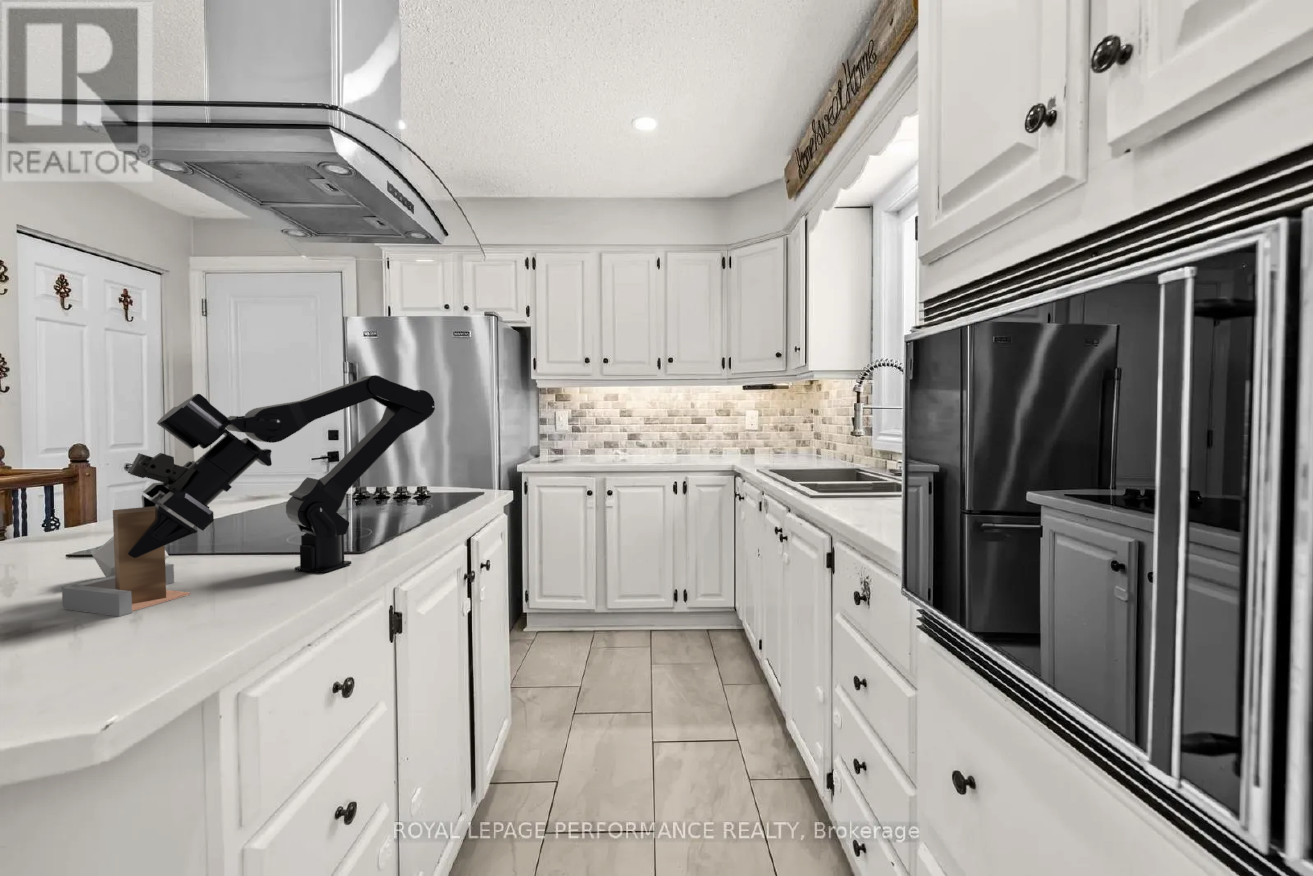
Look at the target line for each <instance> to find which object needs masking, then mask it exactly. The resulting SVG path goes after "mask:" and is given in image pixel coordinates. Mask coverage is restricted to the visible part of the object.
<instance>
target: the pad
mask: <svg viewBox="0 0 1313 876" xmlns="http://www.w3.org/2000/svg"><path fill="white" fill-rule="evenodd" d="M185 596H190V592H189V591H178V590H171V589H166V598H163V599H157V600H152V601H146V602H140V603H135V604H132V612H134V611H137V610H141V609H144V608H148V607H152V606H154V605H158V604H163V603H165V602H169V601H172V600H175V599H179V598H182V597H185Z"/></svg>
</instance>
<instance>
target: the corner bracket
mask: <svg viewBox="0 0 1313 876" xmlns="http://www.w3.org/2000/svg"><path fill="white" fill-rule="evenodd" d="M174 567H175V565H174V564H173V563H165V571H166V586H167V585H170V584H174V583H175V570H174V569H175V568H174ZM61 596H62V597H61V598H62V599H61V600H62V603H61V604H62V610H67V611H74V612H75V611H76V612H85V613H91V614H100V615H107V616H115V617H122V616H123V617H124V616H126V615H129V614H132V613H133V611H132V596H131V591H125V590H117V589H116V586H115V576H110V577H102V578H97V579H93V580H89V581H86V582H84V581H83V582H80V583H76V584H73V585H68V586H64V587H62V588H61Z"/></svg>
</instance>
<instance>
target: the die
mask: <svg viewBox="0 0 1313 876" xmlns="http://www.w3.org/2000/svg"><path fill="white" fill-rule="evenodd" d="M91 556H92V557H93V558H94V561H95V562H96V563H97V565H98V567H99V569H100V570H101V572H102V574H103V575H104V578H106V577H110V576H115V559H114V535H113V536H112V537H111V538H109V539H108V540H107V541H106V542H105V543H103V545H101V546H100V547H99V548H98V549H96V550H95V551H94V552H93V553H92V554H91ZM167 558H169V554H168V552H167V551H166V549H165V561H166V560H167Z"/></svg>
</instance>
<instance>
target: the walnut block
mask: <svg viewBox="0 0 1313 876" xmlns="http://www.w3.org/2000/svg"><path fill="white" fill-rule="evenodd" d="M154 520H155V506H152V507H143V506H142V507H131V508H130V507H129V508H120V509H113V510H112V524H113V525H112V526H113V528H112V529H113V530H112V531H113V536H114V559H115V586H116V589H117V590H125V591H131V596H132V604H135V603H140V602H146V601H152V600H157V599H163V598H166V590H167V585H166V571H165V564H166V560H165V550H166V545H164V546H162V547H160V548H157V549H155V550H153V551H150V552H148V553H146V554H144V555H141V556H139V557H137V558H133V557H131V556H130V555H128V552H129V551H130V549H131V548H132V547H133V546H134V544H135V543H136V542H137V541H138V540H139V538H140V537H141V536H142V535H143V534H144V532H145V531H146V530H147V529H148V528H149V526H150V525H151V524H152V523H153V522H154Z"/></svg>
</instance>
